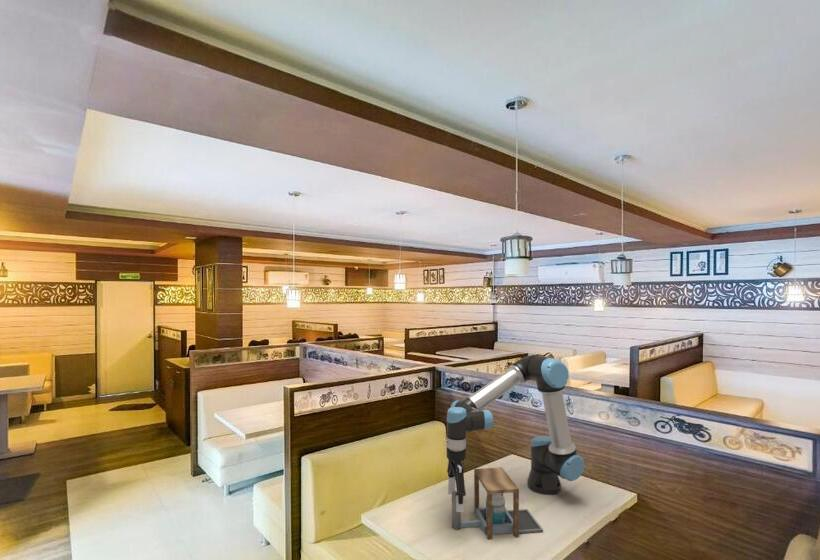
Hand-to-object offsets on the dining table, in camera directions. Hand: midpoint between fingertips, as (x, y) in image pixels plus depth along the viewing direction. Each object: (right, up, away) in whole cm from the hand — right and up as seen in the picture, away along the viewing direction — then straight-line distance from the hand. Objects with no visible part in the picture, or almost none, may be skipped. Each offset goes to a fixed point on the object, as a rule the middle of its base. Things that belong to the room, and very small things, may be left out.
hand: (455, 502), depth 165 cm
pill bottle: (+16, -10, +2) cm, 19 cm away
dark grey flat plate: (+28, -10, +3) cm, 29 cm away
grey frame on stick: (+10, -10, +1) cm, 14 cm away
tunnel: (+16, -10, +2) cm, 19 cm away
